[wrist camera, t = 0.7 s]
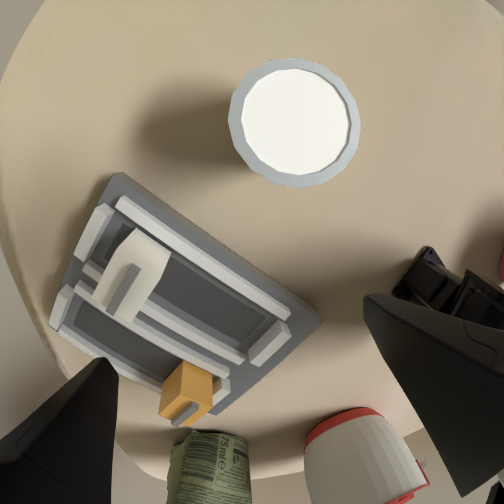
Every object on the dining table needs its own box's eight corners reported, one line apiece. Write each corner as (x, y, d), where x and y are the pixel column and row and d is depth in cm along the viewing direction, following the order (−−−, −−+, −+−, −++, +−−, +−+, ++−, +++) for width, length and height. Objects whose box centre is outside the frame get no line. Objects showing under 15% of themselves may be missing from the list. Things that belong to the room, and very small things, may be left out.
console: (315, 308, 24) (329, 331, 21) (215, 402, 28) (216, 426, 24) (122, 172, 18) (104, 177, 15) (55, 313, 21) (40, 333, 18)
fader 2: (212, 373, 23) (213, 413, 18) (189, 394, 24) (188, 431, 19) (183, 360, 22) (179, 400, 18) (163, 382, 23) (157, 420, 18)
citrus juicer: (381, 431, 37) (421, 511, 19) (291, 458, 36) (316, 552, 18) (405, 380, 32) (470, 479, 13) (293, 414, 30) (333, 548, 12)
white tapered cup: (248, 190, 20) (264, 211, 13) (208, 107, 17) (203, 84, 11) (329, 155, 19) (378, 160, 13) (294, 74, 17) (330, 44, 10)
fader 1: (171, 252, 18) (158, 283, 14) (144, 292, 19) (128, 329, 15) (136, 227, 17) (113, 252, 13) (111, 270, 18) (87, 302, 14)
